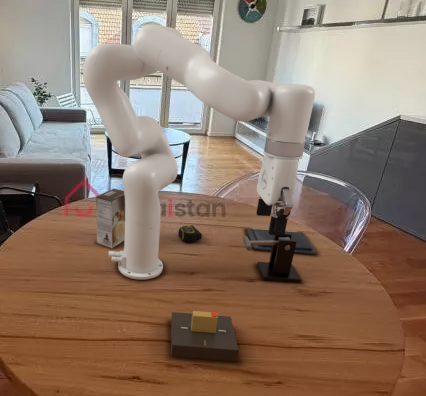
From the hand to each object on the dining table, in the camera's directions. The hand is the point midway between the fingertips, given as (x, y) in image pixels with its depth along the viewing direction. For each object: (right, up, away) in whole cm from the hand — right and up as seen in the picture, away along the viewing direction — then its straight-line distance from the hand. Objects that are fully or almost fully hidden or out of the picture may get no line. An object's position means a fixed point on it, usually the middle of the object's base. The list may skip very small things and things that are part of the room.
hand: (269, 224), depth 80 cm
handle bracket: (+10, -16, +24) cm, 30 cm away
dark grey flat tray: (+18, -9, +42) cm, 47 cm away
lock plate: (-15, -25, -2) cm, 29 cm away
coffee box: (-38, -8, +38) cm, 54 cm away
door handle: (+6, -8, +21) cm, 23 cm away
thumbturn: (-15, -22, -4) cm, 27 cm away
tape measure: (-13, -8, +41) cm, 44 cm away
